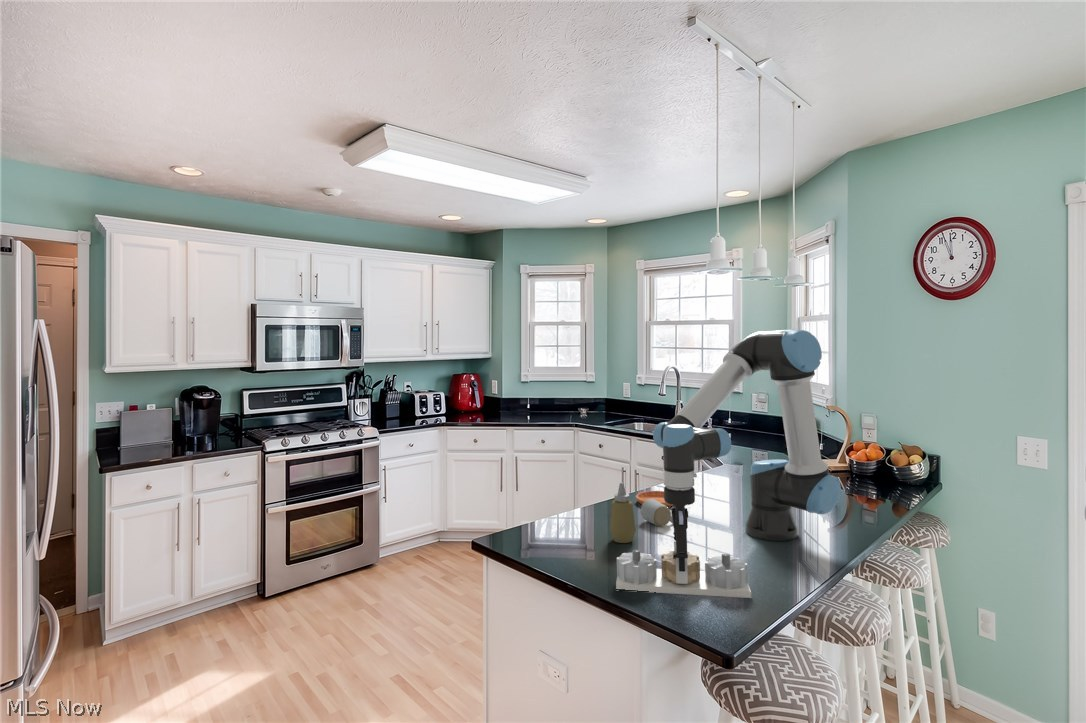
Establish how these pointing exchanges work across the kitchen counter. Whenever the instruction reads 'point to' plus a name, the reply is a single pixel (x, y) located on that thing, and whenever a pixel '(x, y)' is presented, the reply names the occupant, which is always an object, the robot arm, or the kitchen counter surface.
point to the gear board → (716, 580)
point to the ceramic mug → (656, 513)
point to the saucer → (652, 497)
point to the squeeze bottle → (622, 517)
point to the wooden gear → (670, 567)
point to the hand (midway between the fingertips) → (680, 574)
